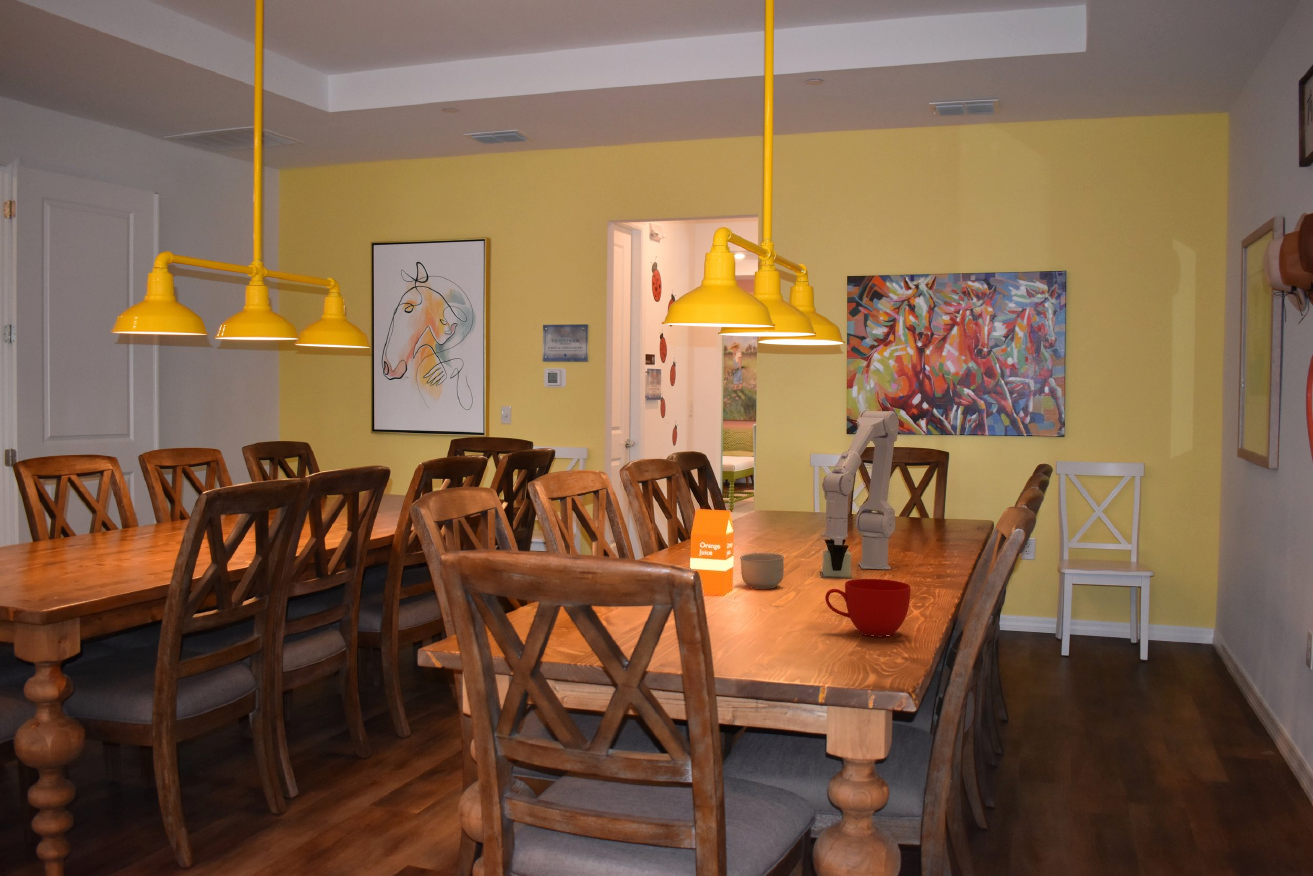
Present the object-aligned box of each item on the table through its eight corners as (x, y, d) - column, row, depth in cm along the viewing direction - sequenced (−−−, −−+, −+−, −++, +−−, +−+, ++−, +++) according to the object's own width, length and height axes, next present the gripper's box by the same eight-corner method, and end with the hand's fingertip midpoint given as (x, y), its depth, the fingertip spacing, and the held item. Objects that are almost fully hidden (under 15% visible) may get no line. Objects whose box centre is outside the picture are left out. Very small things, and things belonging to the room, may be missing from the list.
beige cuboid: (848, 573, 279) (849, 551, 278) (850, 577, 273) (851, 554, 272) (822, 573, 279) (822, 550, 279) (823, 576, 273) (824, 553, 273)
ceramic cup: (820, 625, 215) (821, 577, 215) (902, 627, 214) (903, 579, 214) (828, 640, 202) (830, 589, 202) (915, 641, 201) (917, 591, 201)
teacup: (785, 591, 252) (786, 559, 252) (741, 590, 252) (741, 558, 252) (779, 581, 266) (780, 550, 265) (737, 580, 266) (738, 549, 266)
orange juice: (724, 596, 245) (726, 512, 244) (689, 593, 248) (690, 510, 247) (733, 590, 252) (734, 509, 252) (698, 587, 255) (699, 507, 254)
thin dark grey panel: (819, 572, 280) (819, 571, 280) (849, 573, 280) (849, 572, 280) (821, 577, 272) (821, 576, 272) (852, 578, 272) (852, 577, 272)
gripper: (820, 514, 283) (818, 563, 283) (823, 520, 268) (822, 572, 269) (846, 514, 282) (844, 564, 283) (850, 521, 268) (849, 573, 268)
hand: (835, 568), depth 276 cm, fingers open, 7 cm apart
